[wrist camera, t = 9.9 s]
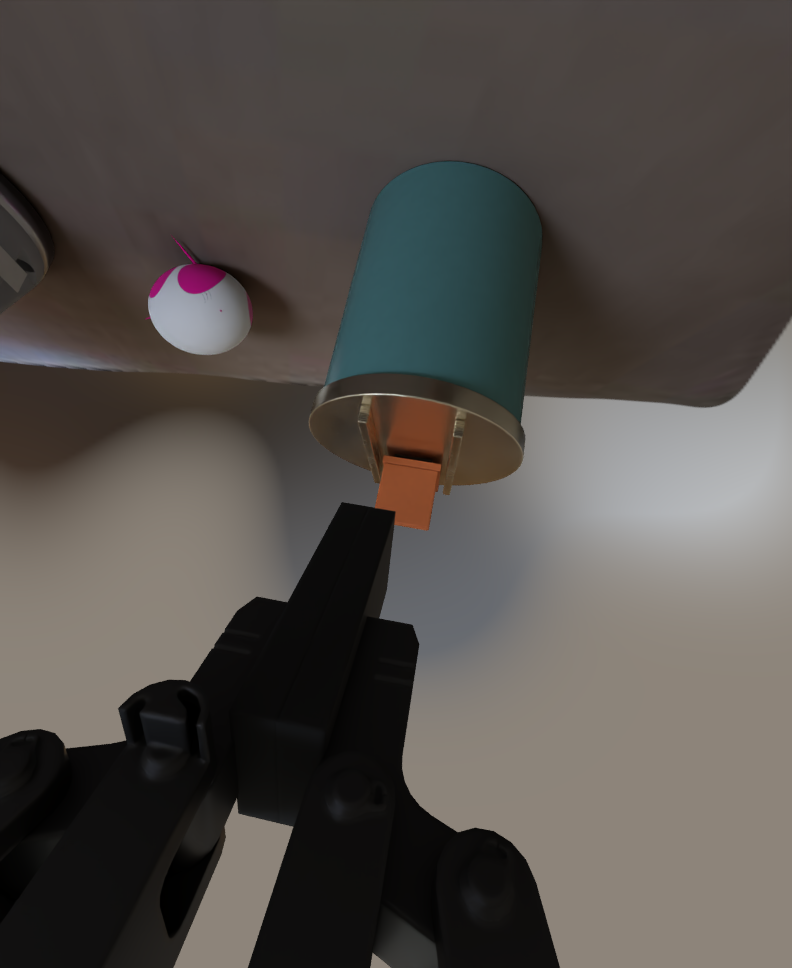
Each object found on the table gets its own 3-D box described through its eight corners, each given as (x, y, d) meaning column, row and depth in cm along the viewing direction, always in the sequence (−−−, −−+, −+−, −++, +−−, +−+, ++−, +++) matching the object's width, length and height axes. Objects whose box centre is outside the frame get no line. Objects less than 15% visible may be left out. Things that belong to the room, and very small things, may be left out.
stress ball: (252, 217, 32) (193, 233, 27) (285, 332, 37) (239, 365, 32) (165, 230, 35) (95, 248, 30) (205, 337, 39) (151, 369, 34)
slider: (383, 454, 24) (370, 518, 23) (441, 464, 24) (430, 528, 23) (387, 477, 28) (376, 533, 27) (438, 485, 27) (428, 542, 26)
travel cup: (351, 144, 23) (277, 395, 19) (574, 165, 22) (547, 436, 18) (371, 295, 33) (326, 480, 29) (525, 314, 32) (500, 509, 28)
